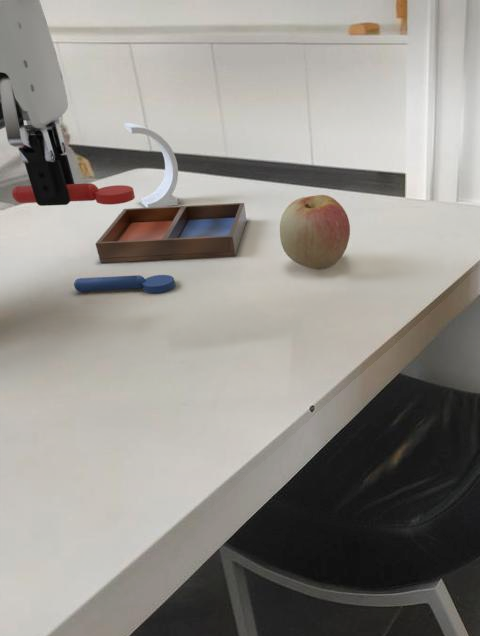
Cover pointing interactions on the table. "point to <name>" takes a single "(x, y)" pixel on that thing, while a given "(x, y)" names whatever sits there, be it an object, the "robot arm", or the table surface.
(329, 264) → the apple
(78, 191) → the red spoon
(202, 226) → the tray
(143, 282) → the blue spoon
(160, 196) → the headphone stand
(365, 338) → the table surface
